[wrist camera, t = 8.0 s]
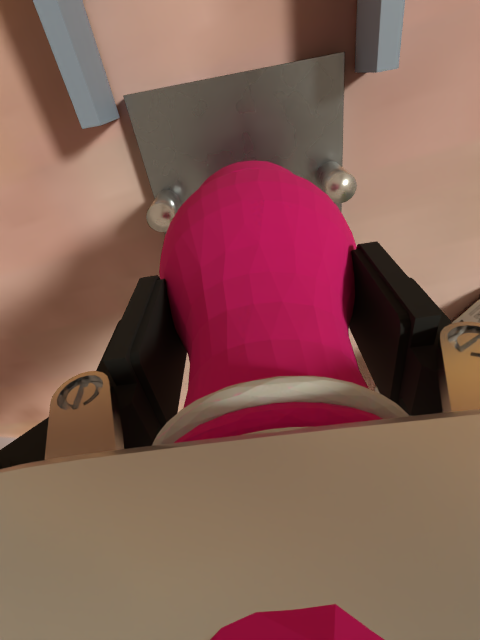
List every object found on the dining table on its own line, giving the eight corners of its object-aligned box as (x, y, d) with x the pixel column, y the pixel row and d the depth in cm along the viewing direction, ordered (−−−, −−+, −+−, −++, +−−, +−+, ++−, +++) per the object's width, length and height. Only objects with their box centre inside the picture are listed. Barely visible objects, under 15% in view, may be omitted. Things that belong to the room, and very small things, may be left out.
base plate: (127, 94, 19) (106, 99, 16) (339, 52, 18) (362, 48, 15) (181, 276, 26) (175, 305, 23) (336, 253, 25) (352, 279, 22)
